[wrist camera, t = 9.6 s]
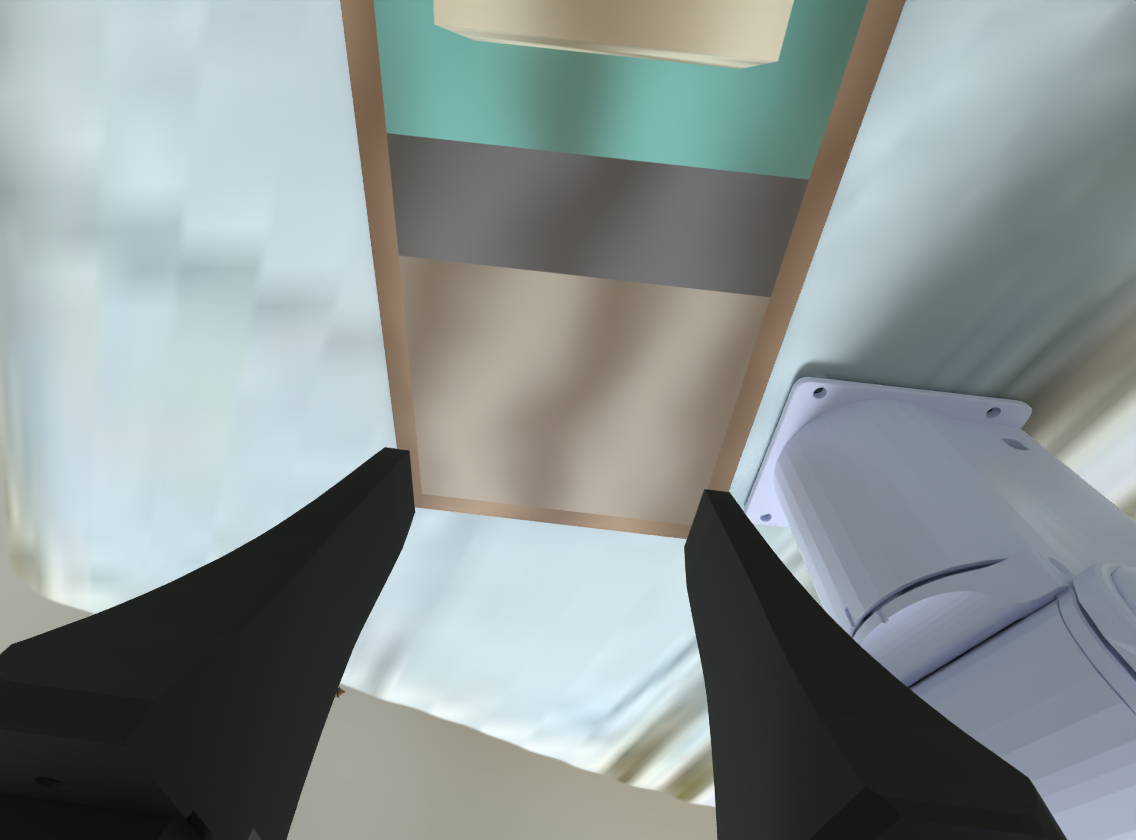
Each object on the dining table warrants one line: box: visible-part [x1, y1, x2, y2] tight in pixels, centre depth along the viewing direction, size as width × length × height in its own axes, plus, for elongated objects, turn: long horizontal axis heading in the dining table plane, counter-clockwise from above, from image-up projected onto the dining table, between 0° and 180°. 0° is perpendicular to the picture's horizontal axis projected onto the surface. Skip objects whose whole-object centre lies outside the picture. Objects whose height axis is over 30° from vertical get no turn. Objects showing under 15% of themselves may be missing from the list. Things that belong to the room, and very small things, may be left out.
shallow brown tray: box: [340, 0, 906, 539], centre depth 16 cm, size 16×34×1 cm, turn 175°
